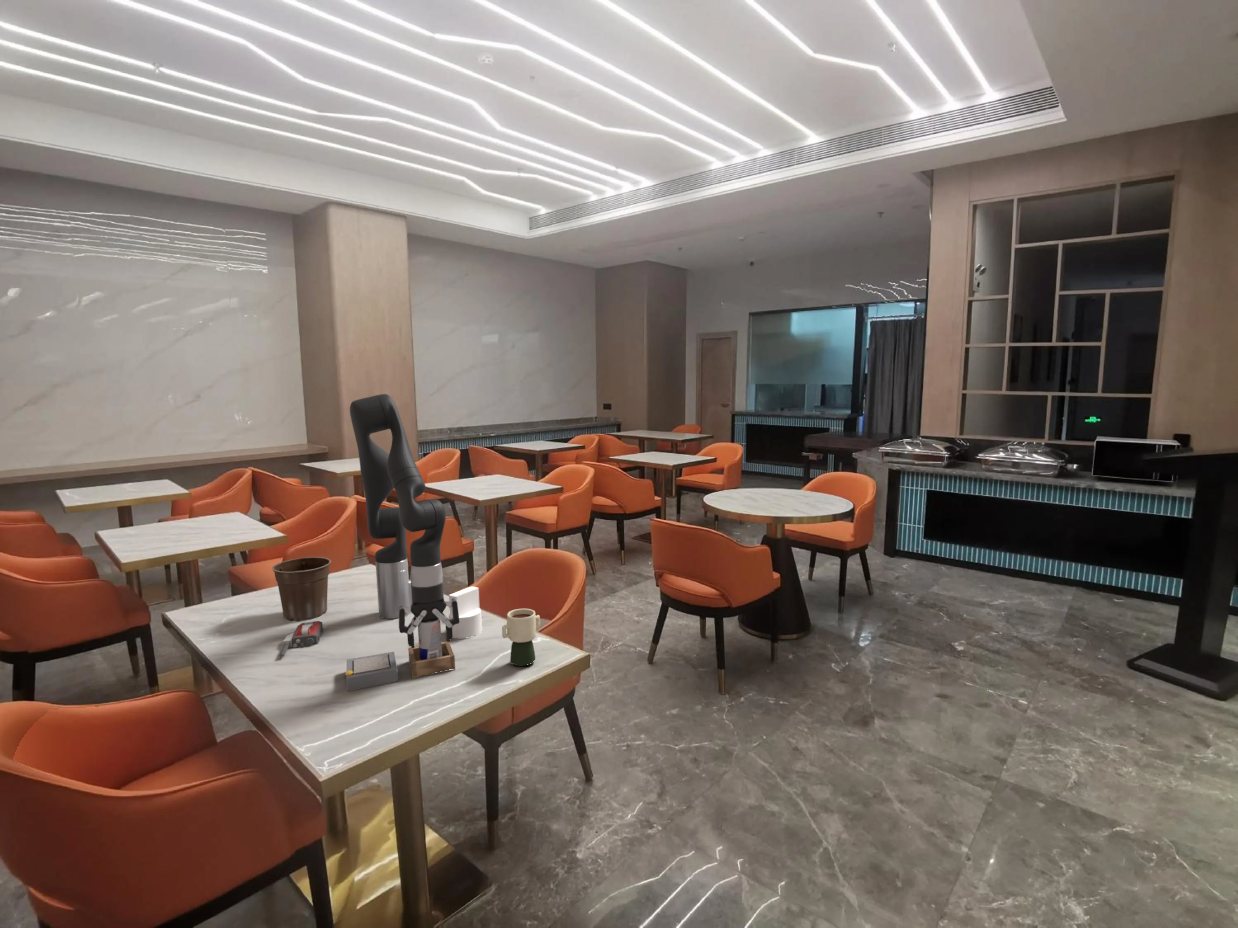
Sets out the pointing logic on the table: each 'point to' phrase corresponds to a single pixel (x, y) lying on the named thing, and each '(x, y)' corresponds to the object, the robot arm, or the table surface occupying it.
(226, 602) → the table surface
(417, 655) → the walnut holder
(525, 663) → the character mug
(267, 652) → the table surface
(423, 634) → the energy drink
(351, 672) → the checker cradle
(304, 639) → the walkie-talkie
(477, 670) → the table surface
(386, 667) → the pad
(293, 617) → the plant pot
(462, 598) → the base with upright slab
